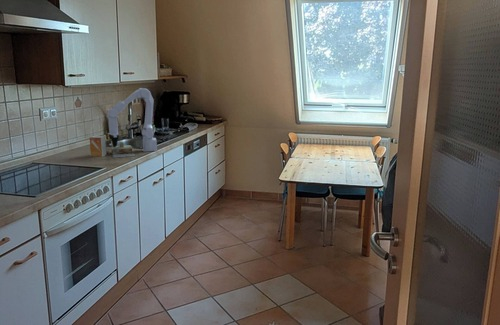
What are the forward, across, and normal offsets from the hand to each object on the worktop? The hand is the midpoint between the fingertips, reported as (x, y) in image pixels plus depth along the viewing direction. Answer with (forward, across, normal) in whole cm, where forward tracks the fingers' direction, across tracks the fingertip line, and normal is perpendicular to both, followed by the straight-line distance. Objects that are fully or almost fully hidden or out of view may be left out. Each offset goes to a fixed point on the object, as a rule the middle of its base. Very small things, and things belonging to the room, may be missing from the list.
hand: (114, 146), depth 281 cm
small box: (+5, +2, -11) cm, 12 cm away
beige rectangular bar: (0, -7, 0) cm, 7 cm away
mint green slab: (+2, 0, +4) cm, 5 cm away
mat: (+5, +10, +4) cm, 12 cm away
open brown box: (+5, 0, +4) cm, 7 cm away
